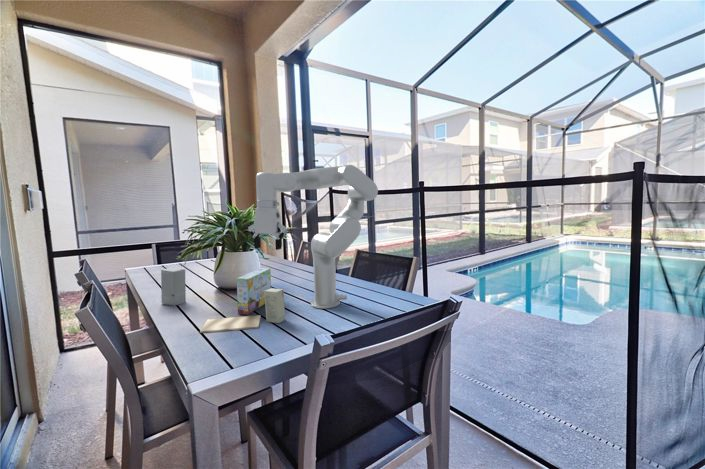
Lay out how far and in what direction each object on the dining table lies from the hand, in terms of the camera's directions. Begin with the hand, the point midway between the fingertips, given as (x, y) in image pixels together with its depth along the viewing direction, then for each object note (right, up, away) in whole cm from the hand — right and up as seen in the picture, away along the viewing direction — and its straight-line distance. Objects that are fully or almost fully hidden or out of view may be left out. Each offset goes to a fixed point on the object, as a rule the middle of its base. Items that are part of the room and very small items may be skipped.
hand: (267, 248), depth 134 cm
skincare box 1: (-48, -26, +22) cm, 59 cm away
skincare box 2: (+4, -28, -2) cm, 28 cm away
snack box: (-9, -26, +15) cm, 32 cm away
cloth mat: (-12, -28, -5) cm, 31 cm away
